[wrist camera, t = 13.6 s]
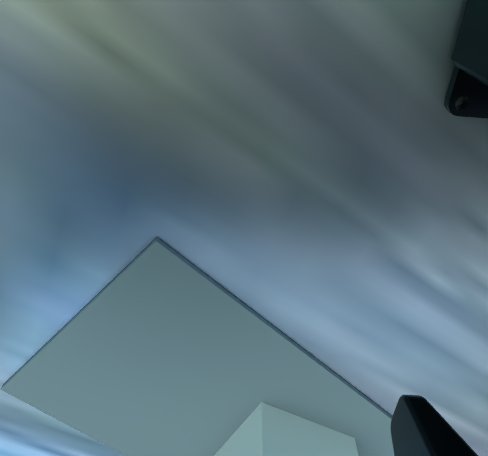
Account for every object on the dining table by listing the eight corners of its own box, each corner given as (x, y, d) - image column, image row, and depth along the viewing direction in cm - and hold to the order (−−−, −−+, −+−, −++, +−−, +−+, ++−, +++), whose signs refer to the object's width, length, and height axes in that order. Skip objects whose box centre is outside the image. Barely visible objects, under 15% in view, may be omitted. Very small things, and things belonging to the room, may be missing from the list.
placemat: (431, 446, 29) (432, 450, 29) (270, 528, 35) (270, 533, 34) (157, 237, 22) (156, 240, 21) (3, 384, 27) (0, 389, 26)
